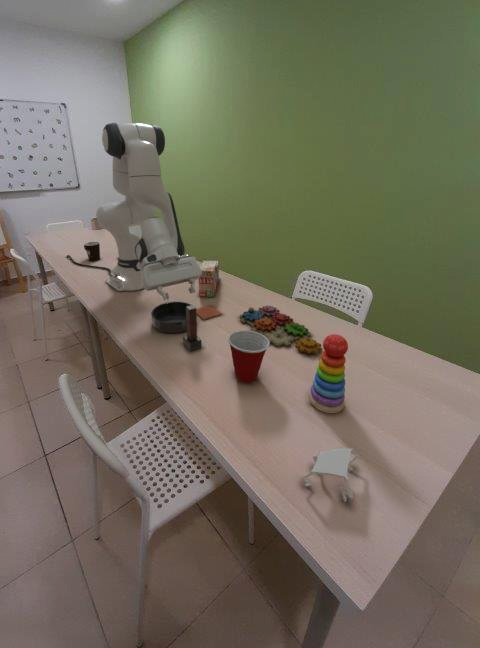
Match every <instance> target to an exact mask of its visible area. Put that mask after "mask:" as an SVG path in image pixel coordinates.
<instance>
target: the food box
mask: <svg viewBox="0 0 480 648" xmlns="http://www.w3.org/2000/svg"><path fill="white" fill-rule="evenodd" d="M219 264H220V263H219V260H202V263H201V265H200V266H199V267H200V269H201V271H202V275H201V277H200V278H199V279H198V297H200V298H201V297H202V298H204V297H205V298H214V295H215V293H216V290H217V285H218V283H219V280H220V279H219V278H220V275H219V274H220V267H219Z"/></svg>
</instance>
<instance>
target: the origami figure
mask: <svg viewBox="0 0 480 648" xmlns="http://www.w3.org/2000/svg"><path fill="white" fill-rule="evenodd" d="M351 455H353V458H351ZM350 458H351V459H350ZM359 458H360V454H358V452H356V451H355V450H354V448H349V447H346V448H341V447H340V448H332V449H328V450H325V451H319V453H317V454H316V453H315V454H314V453H313V455H312V459H313V461H314V466H313V468H312V469H311V470H310V471H309V472H308V473H307V474H304V475H301V476H300V477H299V478H300V479H301V480H302V481H303V482H306V483H305V485H304V486H305V487H307V488H308V487H309V486H312V485H313V482H312V481H310V480H308V479H307V478H309V477H310V476H312V475H325V476H327V475H328V476H334V477H339V478H340V477H341V478H343V479H344V483H345V487H346V488H345V487H344V486H340V491H341V492H340V493H341V495H342V499H343V502H345V503H347V500H348V498H347V496H348V497H349V498H350V499H351V500H353V499H354V498H353V497H354V493H353V490H352V487H351V485H350V482H349V479H348V471H351V472H354V468H353V467H352V466H351V464H352V463H353V462H356V461H357V460H358V459H359Z"/></svg>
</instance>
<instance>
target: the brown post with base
mask: <svg viewBox="0 0 480 648" xmlns="http://www.w3.org/2000/svg"><path fill="white" fill-rule="evenodd" d="M196 309H197V307H196V306H195V305H193V304H191V306H187V307H186V323H187V330H186V334H185V335H183V336H182V342H183V343H182V344H183V345H184V346H185V347H186V348H187V350H188V351H189V352H193V351H197V350H199V349H202V339H201V338H200V337H199V336H198V321H197V319H198V318H197V317H196Z"/></svg>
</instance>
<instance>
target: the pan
mask: <svg viewBox="0 0 480 648" xmlns="http://www.w3.org/2000/svg"><path fill="white" fill-rule="evenodd" d="M191 305H192V304H191V303H188V302H184V301H167V302H163V303H161V304H159V305H157V306H155V307H154V308H153V309H152V310H151V313H150V314H151V323H152V327H154V328H155V330H158V331H160V332H163V333H167V334H179V333H184V332H187V323H186V307H187V306H191ZM197 316H198V315H197V313H196V317H197Z"/></svg>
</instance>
